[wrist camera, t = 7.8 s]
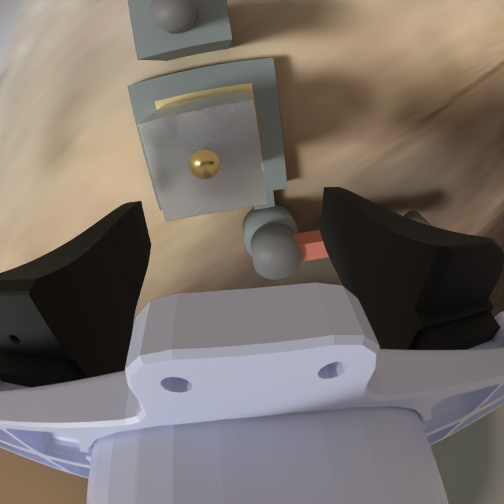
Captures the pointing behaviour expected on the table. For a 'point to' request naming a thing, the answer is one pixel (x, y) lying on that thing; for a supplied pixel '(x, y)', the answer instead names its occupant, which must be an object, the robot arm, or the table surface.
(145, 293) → the table surface
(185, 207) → the block
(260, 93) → the press
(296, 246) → the lever
